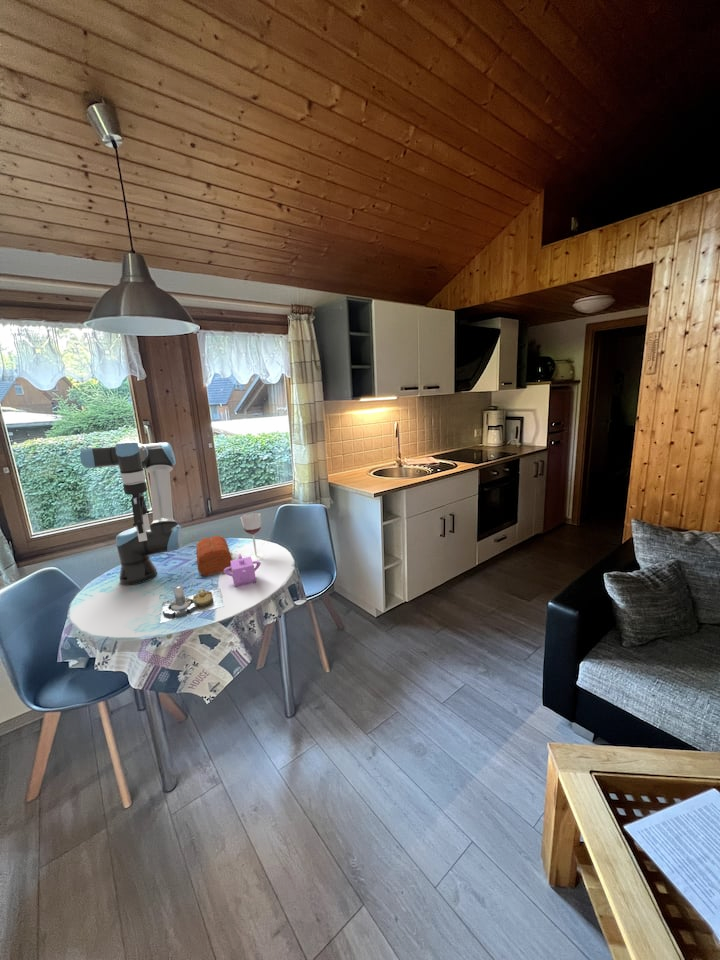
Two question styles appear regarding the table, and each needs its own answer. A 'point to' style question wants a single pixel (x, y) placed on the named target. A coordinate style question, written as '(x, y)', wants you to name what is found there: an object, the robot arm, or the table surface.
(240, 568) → the teapot
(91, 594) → the table surface
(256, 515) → the wineglass
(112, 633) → the table surface
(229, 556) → the bread
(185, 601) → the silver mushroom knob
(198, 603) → the gold cymbal
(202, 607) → the carrier plate
